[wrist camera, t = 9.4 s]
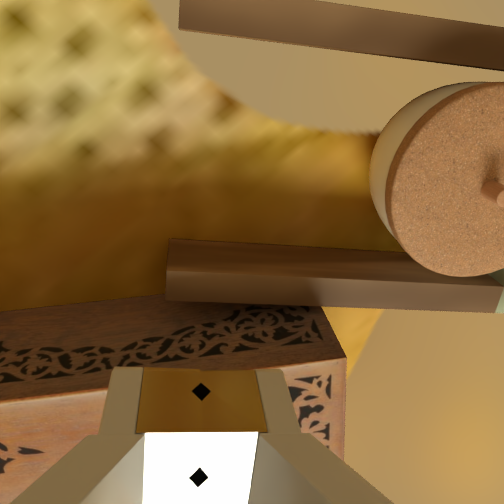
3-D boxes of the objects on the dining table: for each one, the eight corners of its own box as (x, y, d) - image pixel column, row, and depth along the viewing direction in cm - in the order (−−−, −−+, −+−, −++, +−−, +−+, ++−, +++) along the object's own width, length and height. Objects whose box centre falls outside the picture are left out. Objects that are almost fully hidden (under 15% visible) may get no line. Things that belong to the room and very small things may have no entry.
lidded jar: (447, 248, 36) (529, 313, 27) (320, 202, 33) (367, 258, 25) (528, 109, 32) (650, 134, 24) (393, 45, 30) (477, 47, 21)
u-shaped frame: (181, -9, 27) (180, -19, 22) (560, 44, 31) (624, 44, 26) (167, 265, 34) (165, 300, 29) (480, 280, 37) (521, 313, 33)
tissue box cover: (-2, 467, 39) (-59, 596, 30) (-59, 316, 33) (-150, 419, 24) (307, 425, 42) (341, 532, 32) (306, 276, 36) (346, 357, 27)
